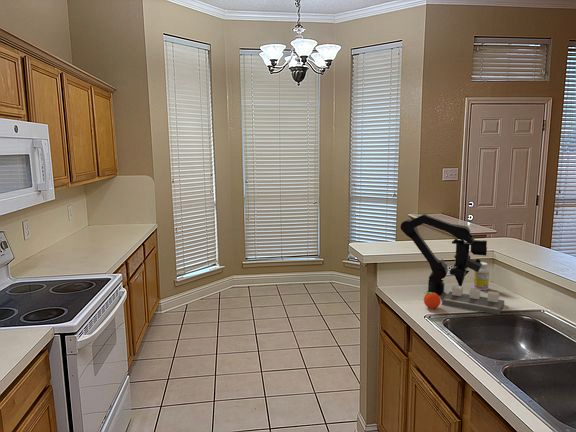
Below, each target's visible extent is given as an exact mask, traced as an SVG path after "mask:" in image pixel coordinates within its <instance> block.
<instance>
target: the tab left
mask: <svg viewBox="0 0 576 432" xmlns="http://www.w3.org/2000/svg"><path fill="white" fill-rule="evenodd" d="M463 289H464V287H463V286H459V285H452V287H451V292H452V295H455V296H462V294H464V293H463V291H464V290H463Z"/></svg>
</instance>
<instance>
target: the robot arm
mask: <svg viewBox="0 0 576 432" xmlns="http://www.w3.org/2000/svg"><path fill="white" fill-rule="evenodd" d="M421 225H427V226H431V227H433V228H435V229H438V230H441V231H443V232H446V233H448V234H450V235H452V236H453V237H455V239H454V240H452V242H451V244H453V245H454V244H455V255H454V256H453V258H454V259H455V260H454V264H453V267H452V268H451V269H448V265H447V264H446V263H445V261H444V259H443V258H441V260H440V259H439V258H438V257H436V255H435V254H434V253H433V251H432V249H431V248H430V246H429V245H428V244H427V243H426V241H425V240H424V239H423V237H422V236H421V234H420V233H419V230H418V227H419V226H421ZM400 230H401V232H402V233H403V234H404V235H406V236H407V237H408V238H409V239H411V240H412V241H413V243H414V245H416V247H417V249H418V251H420V253H421V254H422V256H423V257H424V258H425V260H426V261H427V263H428V264H429V266H430V270H431V272H430V275H429V276H428V284H427V285H428V287H427V291H426V292H434V293H436V294H438V295H439V296H441V295H442V294H443V293H444V292H445V284H446V283H444V280H443V279H444V278H445V279H446V276H447V274H448V272H449V275H450V276H454V277H455V280H456V282H457V286H460V287H463V283H464V281H465V277H466V276H467V275H468V273H469V272H470V270H473V271H474V272H475V271H476V272H478V271H479V270H480V268H481V266H482V263H481V262H482V261H481V259H479V258H476V259H471V255H470V253H471V254H472V255H475V256H476V255H477V256H483V257H484V256H487V253H488V246H487V245H488V241H487V240H481V239H480V240H479V239H478V240H477V239H475V238H474V236H473V235H472V232H471V229H470V227H468V226H467V225H461V224H456V223H455V224H453V223H450V222H447V221H445V220H441V219H440V218H439V219H438V218H435V217H432V216H431V215H428V214H425V213H424V214H422V215H420V216H417V217H415V218H413V219H408V218H407V219H405V220H404V221H402V222H401V224H400ZM468 269H470V270H468Z"/></svg>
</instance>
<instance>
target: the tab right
mask: <svg viewBox="0 0 576 432" xmlns="http://www.w3.org/2000/svg"><path fill="white" fill-rule="evenodd" d="M499 297H500V292H498V291H497V292H496V291H490V290H489V291H488V292H487V298H488V299H487V301H491V302H498V301H499V300H500V298H499Z"/></svg>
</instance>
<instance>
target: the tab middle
mask: <svg viewBox="0 0 576 432" xmlns="http://www.w3.org/2000/svg"><path fill="white" fill-rule="evenodd" d="M481 291H482V290H479V289H475V288H473V287H471V288H470V289H469V293H468V295H469V298H473V299H479V298H480V297H481Z"/></svg>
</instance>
